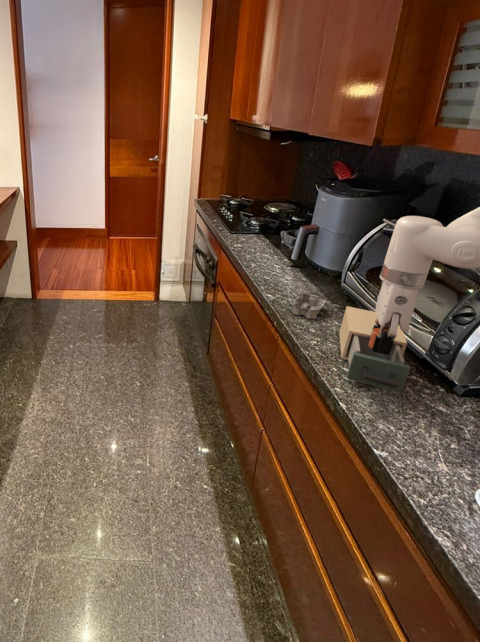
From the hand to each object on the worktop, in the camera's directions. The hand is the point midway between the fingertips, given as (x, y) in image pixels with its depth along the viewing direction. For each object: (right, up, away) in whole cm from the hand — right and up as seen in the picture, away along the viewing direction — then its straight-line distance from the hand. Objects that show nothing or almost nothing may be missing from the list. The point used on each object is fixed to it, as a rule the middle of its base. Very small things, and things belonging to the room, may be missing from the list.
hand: (379, 346), depth 88 cm
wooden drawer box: (+5, -4, +12) cm, 13 cm away
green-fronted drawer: (-1, -7, +2) cm, 7 cm away
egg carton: (0, +4, +31) cm, 31 cm away
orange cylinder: (0, 0, 0) cm, 0 cm away
